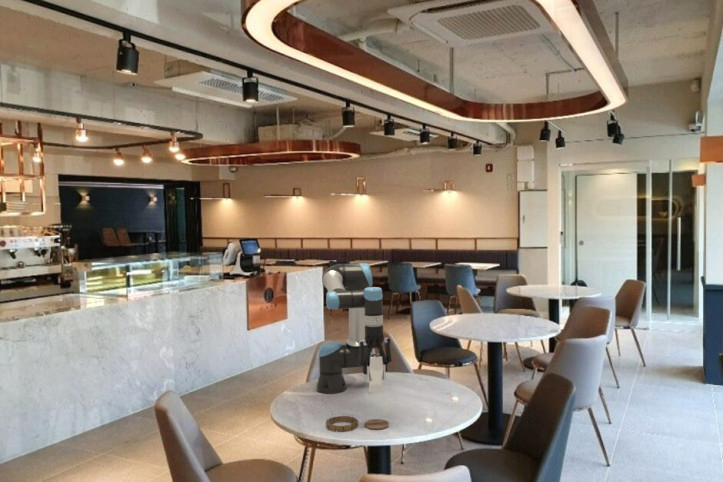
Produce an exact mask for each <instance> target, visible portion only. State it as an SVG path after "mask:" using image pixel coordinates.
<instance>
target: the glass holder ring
mask: <svg viewBox="0 0 723 482" xmlns="http://www.w3.org/2000/svg"><path fill="white" fill-rule="evenodd" d="M336 423H349V424H345V425H336ZM358 427H359V419H357V418H356V417H354V416H348V415H339V416H338V415H337V416H334V417H330V418H328V419H327V420H326V421H325V428H326V429H327V431H330V430H331V432H334V431H335V432H336V431H337V432H336V433H346V432H351V431H354V430H356V429H357V428H358Z"/></svg>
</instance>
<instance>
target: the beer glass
mask: <svg viewBox="0 0 723 482" xmlns="http://www.w3.org/2000/svg"><path fill="white" fill-rule="evenodd" d="M367 366H368V367H369V383H368V393H369V394H382V393H383V392H384V389H383V380H382V377H383V369H384V365H383V355H382V356H381V355H380V354H379V353H372V354H370V357H369V361H368V365H367Z"/></svg>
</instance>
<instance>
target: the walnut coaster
mask: <svg viewBox="0 0 723 482" xmlns="http://www.w3.org/2000/svg"><path fill="white" fill-rule="evenodd" d="M389 425H390V424H389V421H388V420H385V419H380V418H378V419H375V418H374V419H369V420H366V421H364V428H365V429H367V430H372V431H380V430H386V429H387V428H389V427H390V426H389Z"/></svg>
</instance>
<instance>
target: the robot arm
mask: <svg viewBox="0 0 723 482" xmlns="http://www.w3.org/2000/svg"><path fill="white" fill-rule="evenodd" d="M321 280H322V285H323V287H324V288H326V291H327V292H326V297H325V301H326V302H325V303H326V308H327V309H328V310H344V309H345V310H346V309H347V310H348V339H346V341H345V344H343V343H342V342H341V341H331V342H326V343H324V344H322V345H321V346H319V348H318V349H319V350H318V361H319V363H318V365H319V368H318V370H319V376H318V379H317V383H316V388H315V389H316V392H318V393H321V394H338V393H342V392H345V391H346V390H347V382H346V380H345V377H344V375H343V369H350V368H351V369H352V368H353V369H355V368H362V373H363V375H364V382H366V383H368V384H369V367H368V366H367V365H368V361H369V357H370V354H373V349H375V348H376V349H377V351H378V354H380V355H381V356H382V355H383V365H384V369H383V377H382V381H386V379H387V377H386V372H388V365H389V363H391V362H392V355H391V345H390V344H391V338H390V337H384V326H383V324H384V315H383V312H384V310H383V297H384V295H383V290H382V288H381V287H377V286H373V276H372V270H371V266H370V265H369V264H368V263H366V262H364V263H363V262H355V263H353V262H352V263H337V264H334V265H332V266H330V267H328V268H326V270H325V271H324V272H323V275H322V277H321ZM383 342H384V348H383Z"/></svg>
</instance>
